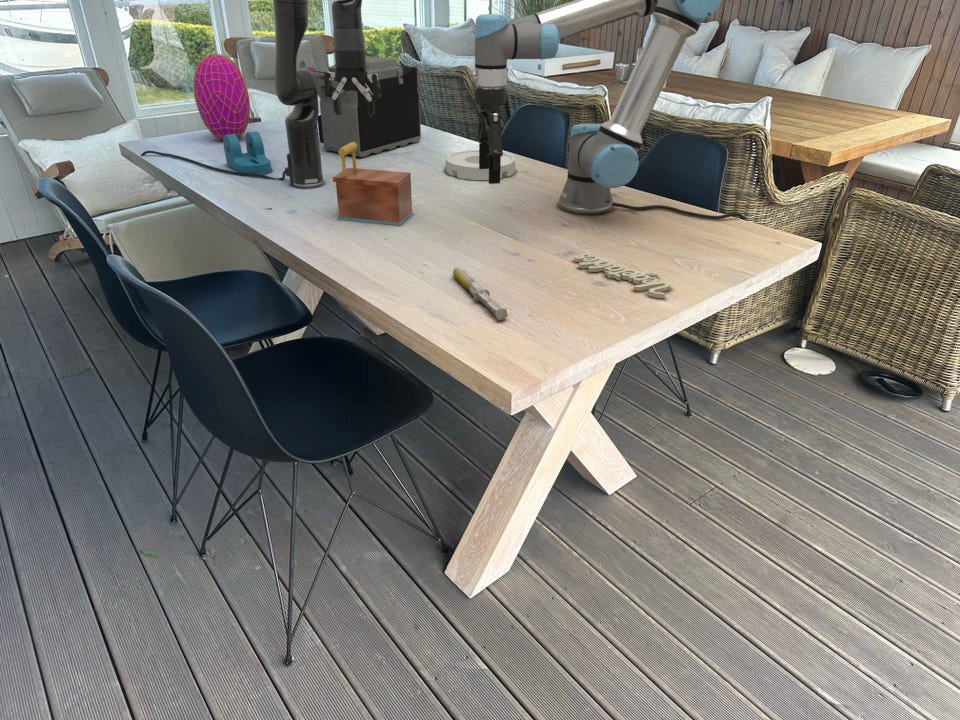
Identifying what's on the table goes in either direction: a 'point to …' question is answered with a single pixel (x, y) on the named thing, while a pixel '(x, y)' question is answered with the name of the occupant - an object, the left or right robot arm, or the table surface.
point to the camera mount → (246, 154)
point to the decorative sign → (625, 274)
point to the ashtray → (476, 165)
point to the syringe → (479, 293)
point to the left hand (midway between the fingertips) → (354, 115)
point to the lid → (367, 172)
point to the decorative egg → (221, 96)
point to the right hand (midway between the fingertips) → (489, 175)
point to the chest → (374, 203)
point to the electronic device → (392, 111)
